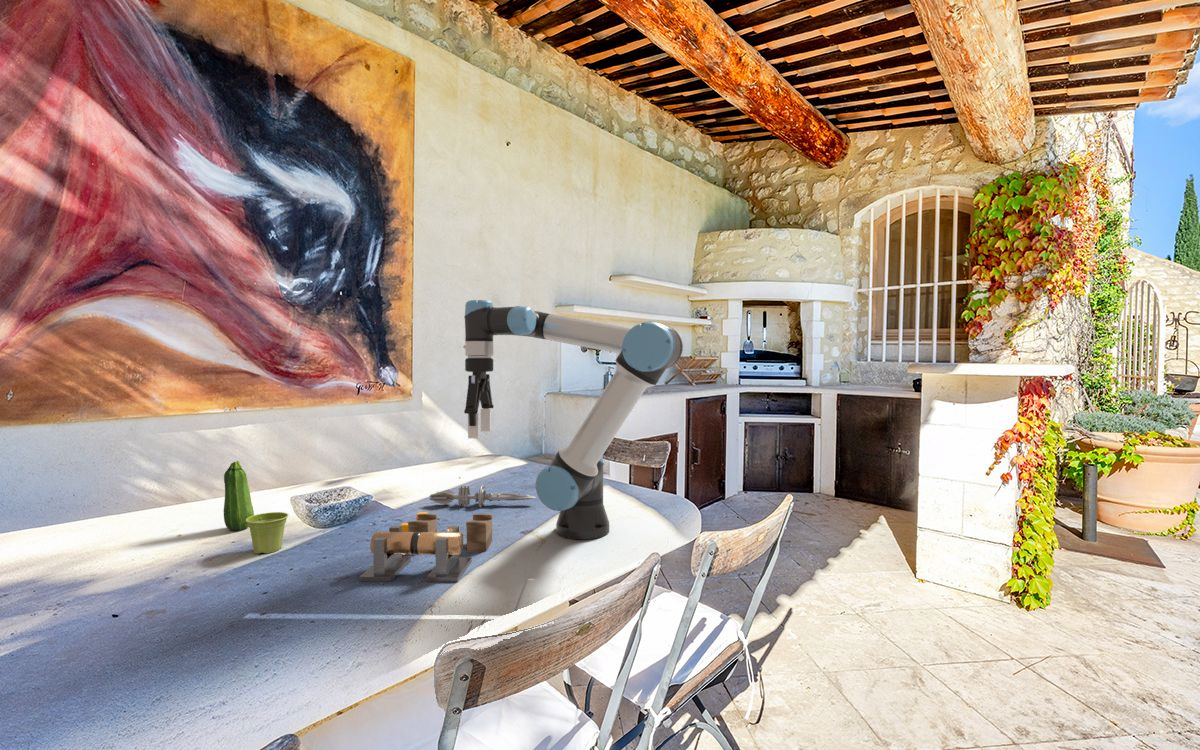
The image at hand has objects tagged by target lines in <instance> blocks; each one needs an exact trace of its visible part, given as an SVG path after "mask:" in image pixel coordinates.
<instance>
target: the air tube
mask: <svg viewBox="0 0 1200 750" xmlns="http://www.w3.org/2000/svg"><path fill="white" fill-rule="evenodd" d="M376 537H377V538H387V554H391V555H402V556H403V555H406V556H408V555H410V556H419V555H420V556H422V555H423V556H424V555H425V556H436V543H435V540H436V539H437V538H448V555H459V556H460V555H461V554H462V552H463V549H464V534H463V532H460V531H459V532H447V531H445V532H444V531H443V532H441V531H437V532H389V531H375V532H374V533H373V535H372V536H371V539H370V553H371V554H372V555H374V549H373V540H374V539H375V538H376Z"/></svg>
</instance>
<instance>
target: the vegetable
mask: <svg viewBox="0 0 1200 750" xmlns="http://www.w3.org/2000/svg"><path fill="white" fill-rule="evenodd" d="M223 481H224V482H223V484H224V502H223V503H224V504H223V521H224V524H225V526H226V528H227V529H228V530H230V531H232V532H233V531H234V532H237V531H238V530H239V531H243V529H244V530H246V529H248V528H249V526H248V523H247V522H246V519H247V518H248V517H251V516H253V515H255V513H254V507H253V503H252V498H251V491H250V487H249V483H248V477H247V473H246V471H245V470H244V469H243V467H242V465H241V464H240V461H239V460H235V461H233V462H232V463H230V465H229V466H228V468H227V469H226V471H225V472H224V475H223Z"/></svg>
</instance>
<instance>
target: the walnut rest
mask: <svg viewBox="0 0 1200 750" xmlns="http://www.w3.org/2000/svg"><path fill="white" fill-rule="evenodd" d="M416 516H417V520H416V519H415V520H408V522H407V523H408V527H409V532H438V521H437V520H438V513H428V514H418V515H417V514H416ZM465 525H466V526H465V527H466V552H487V551H488V549H489V547H490V546H491V544H492V543H493V514H492V513H473V514H472V520H470V521H469V520H467V521H466V522H465Z"/></svg>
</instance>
